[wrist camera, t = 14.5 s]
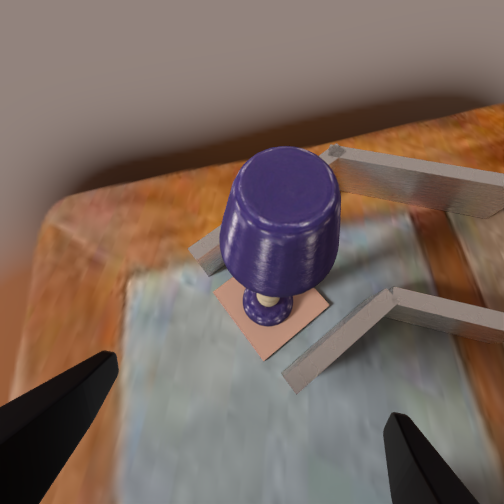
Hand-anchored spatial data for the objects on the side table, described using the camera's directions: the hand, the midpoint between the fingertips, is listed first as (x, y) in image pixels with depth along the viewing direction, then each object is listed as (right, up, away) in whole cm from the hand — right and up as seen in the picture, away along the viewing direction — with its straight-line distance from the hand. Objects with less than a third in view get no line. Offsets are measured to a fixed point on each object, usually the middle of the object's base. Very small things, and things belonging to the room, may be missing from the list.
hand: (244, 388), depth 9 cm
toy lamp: (+2, 0, +14) cm, 14 cm away
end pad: (+2, 0, +15) cm, 15 cm away
